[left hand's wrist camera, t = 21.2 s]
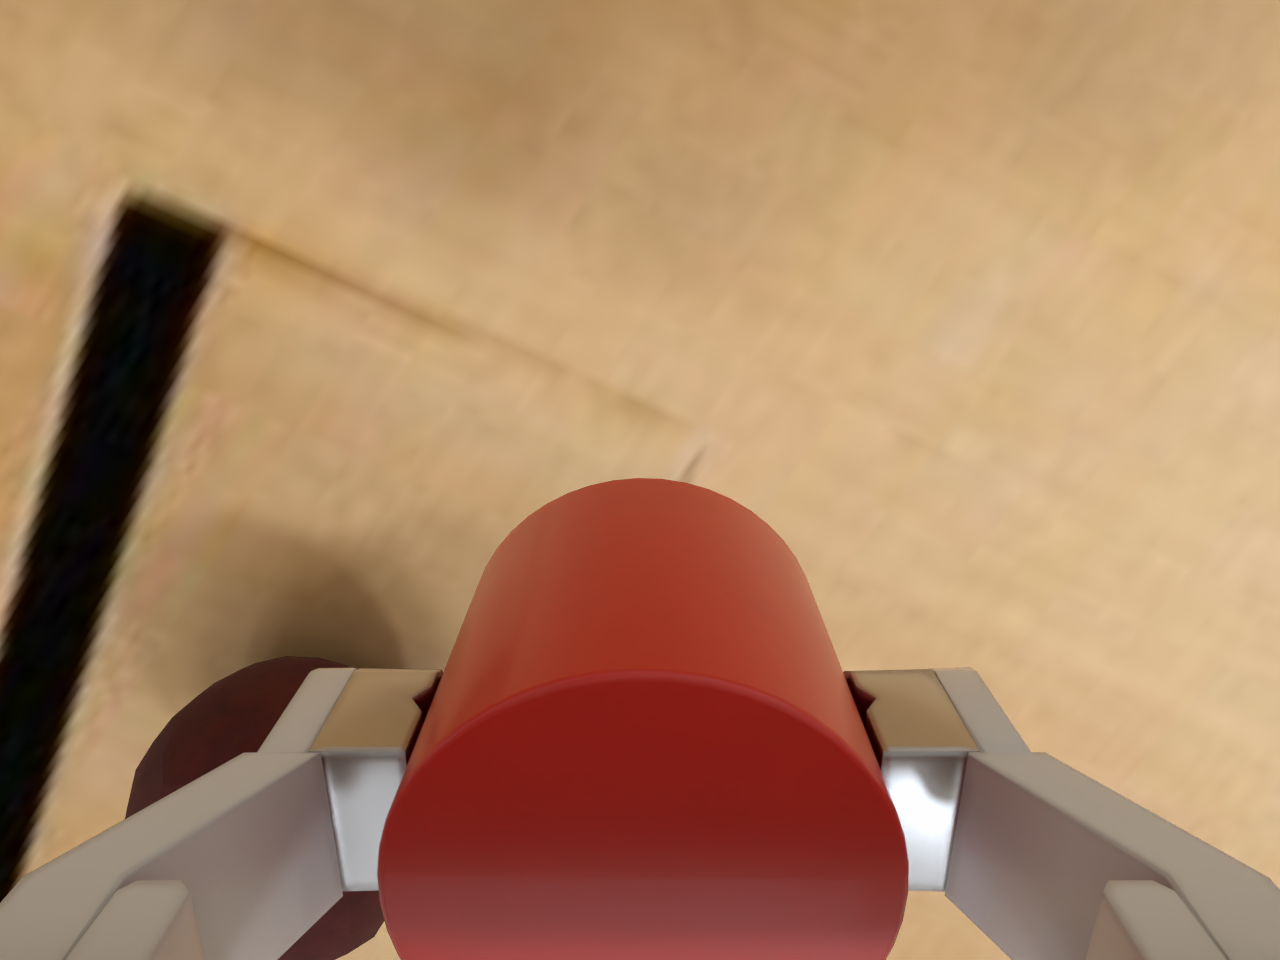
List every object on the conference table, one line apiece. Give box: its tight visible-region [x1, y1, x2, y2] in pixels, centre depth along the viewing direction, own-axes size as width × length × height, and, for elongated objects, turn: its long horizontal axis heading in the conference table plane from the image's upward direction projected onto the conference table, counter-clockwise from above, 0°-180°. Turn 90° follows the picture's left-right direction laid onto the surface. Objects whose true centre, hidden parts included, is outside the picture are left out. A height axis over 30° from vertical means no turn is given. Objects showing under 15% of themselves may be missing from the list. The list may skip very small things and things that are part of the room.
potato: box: [125, 656, 384, 960], centre depth 22 cm, size 7×8×7 cm
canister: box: [377, 478, 909, 960], centre depth 10 cm, size 5×5×4 cm
